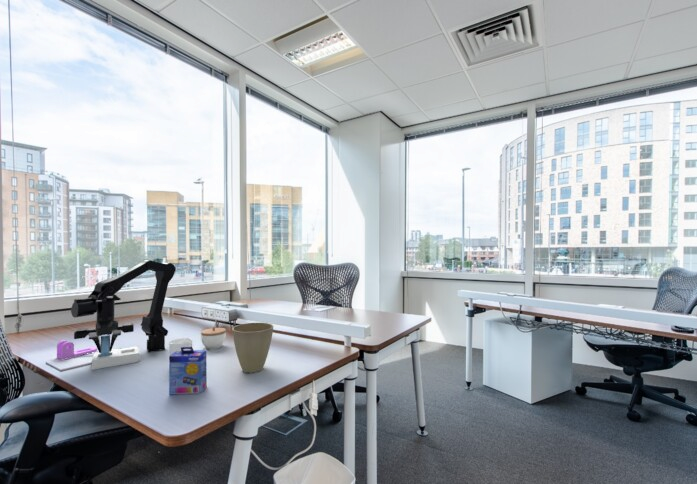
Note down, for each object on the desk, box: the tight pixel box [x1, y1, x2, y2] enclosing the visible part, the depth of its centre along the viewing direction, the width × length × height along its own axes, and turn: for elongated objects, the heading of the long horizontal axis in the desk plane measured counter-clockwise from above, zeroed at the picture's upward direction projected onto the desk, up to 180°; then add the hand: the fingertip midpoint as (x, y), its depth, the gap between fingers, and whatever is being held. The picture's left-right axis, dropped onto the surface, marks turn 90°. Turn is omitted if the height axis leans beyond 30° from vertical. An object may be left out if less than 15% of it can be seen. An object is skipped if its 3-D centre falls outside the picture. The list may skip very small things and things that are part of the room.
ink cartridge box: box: [168, 346, 208, 395], centre depth 103 cm, size 10×6×14 cm, turn 95°
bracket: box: [56, 339, 98, 360], centre depth 140 cm, size 13×6×7 cm, turn 151°
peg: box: [100, 334, 111, 357], centre depth 128 cm, size 3×3×10 cm
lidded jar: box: [200, 326, 227, 350], centre depth 149 cm, size 11×11×9 cm
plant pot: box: [232, 322, 274, 374], centre depth 121 cm, size 15×15×16 cm
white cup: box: [168, 337, 193, 356], centre depth 124 cm, size 8×8×10 cm
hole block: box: [91, 345, 140, 371], centre depth 130 cm, size 15×11×4 cm
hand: (105, 352), depth 128 cm, fingers closed on peg, 3 cm apart
